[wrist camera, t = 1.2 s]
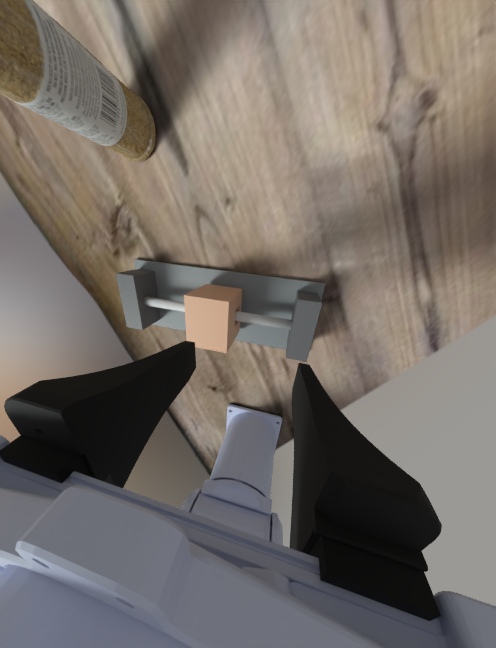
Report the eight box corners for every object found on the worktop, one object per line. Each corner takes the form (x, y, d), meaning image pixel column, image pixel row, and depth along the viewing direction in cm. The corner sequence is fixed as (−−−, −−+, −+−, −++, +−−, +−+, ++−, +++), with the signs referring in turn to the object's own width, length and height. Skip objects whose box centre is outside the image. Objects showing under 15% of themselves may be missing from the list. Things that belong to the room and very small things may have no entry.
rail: (325, 283, 18) (331, 292, 15) (307, 351, 22) (309, 371, 18) (136, 259, 22) (109, 262, 18) (146, 321, 25) (124, 333, 22)
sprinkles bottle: (117, 83, 15) (-486, -461, 3) (165, 114, 16) (-257, -301, 4) (109, 147, 18) (-288, -54, 6) (150, 174, 18) (-147, 37, 6)
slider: (242, 288, 19) (228, 302, 15) (239, 331, 22) (226, 353, 17) (206, 283, 20) (183, 295, 16) (207, 325, 22) (187, 345, 18)
